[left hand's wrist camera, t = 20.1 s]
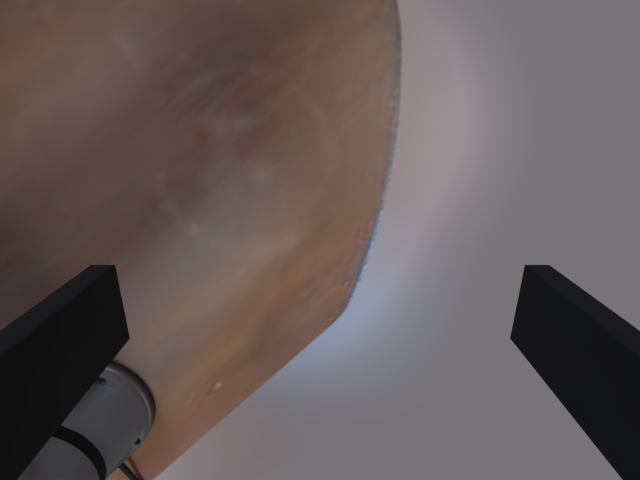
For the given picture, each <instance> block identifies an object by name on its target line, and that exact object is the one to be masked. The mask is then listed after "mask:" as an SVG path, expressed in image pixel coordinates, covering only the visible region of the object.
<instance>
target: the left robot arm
mask: <svg viewBox="0 0 640 480" xmlns="http://www.w3.org/2000/svg"><path fill="white" fill-rule="evenodd" d="M510 338H511V340H512V341H513V342H514V344H515V345H516V346H517V347H518V349H519V350H520V351H521V352H522V354H523V355H524V356H525V357H526V359H527V360H528V361H529V362H530V364H531V365H532V366H533V367H534V369H535V370H536V371H537V372H538V374H539V375H540V376H541V377H542V379H543V380H544V381H545V383H546V384H547V385H548V386H549V388H550V389H551V390H552V391H553V393H554V394H555V395H556V396H557V398H558V399H559V400H560V401H561V403H562V404H563V405H564V406H565V408H566V409H567V410H568V412H569V413H570V414H571V415H572V417H573V418H574V419H575V420H576V422H577V423H578V424H579V425H580V427H581V428H582V429H583V430H584V432H585V433H586V434H587V435H588V437H589V438H590V439H591V440H592V442H593V443H594V444H595V445H596V447H597V448H598V449H599V451H600V452H601V453H602V454H603V456H604V457H605V458H606V459H607V461H608V462H609V463H610V464H611V466H612V467H613V468H614V469H615V471H616V472H617V473H618V474H619V476H620V477H621V478H622V479H623V480H640V331H639V330H638V329H636V328H635V327H634V326H632V325H631V324H629V323H628V322H627V321H625V320H624V319H623V318H621V317H620V316H618V315H617V314H616V313H614V312H613V311H612V310H610V309H609V308H607V307H606V306H605V305H603V304H602V303H601V302H599V301H598V300H596V299H595V298H594V297H592V296H591V295H589V294H588V293H587V292H585V291H584V290H583V289H581V288H580V287H578V286H577V285H576V284H574V283H573V282H572V281H570V280H569V279H567V278H566V277H565V276H563V275H562V274H561V273H559V272H558V271H556V270H555V269H554V268H552V267H551V266H550V265H525V268H524V273H523V278H522V283H521V288H520V293H519V298H518V303H517V308H516V313H515V318H514V323H513V327H512V332H511V337H510ZM129 339H130V337H129V332H128V327H127V322H126V317H125V313H124V308H123V303H122V298H121V293H120V288H119V283H118V278H117V273H116V268H115V265H90V266H89V267H88V268H86V269H85V270H84V271H82V272H81V273H79V274H78V275H77V276H75V277H74V278H73V279H71V280H70V281H68V282H67V283H66V284H64V285H63V286H62V287H60V288H59V289H57V290H56V291H55V292H53V293H52V294H50V295H49V296H48V297H46V298H45V299H44V300H42V301H41V302H39V303H38V304H37V305H35V306H34V307H33V308H31V309H30V310H28V311H27V312H26V313H24V314H23V315H22V316H20V317H19V318H17V319H16V320H15V321H13V322H12V323H11V324H9V325H8V326H6V327H5V328H4V329H2V330H1V331H0V480H106V479H107V478H108V477H109V476H110V475H111V474H112V473H113V472H114V471H115V470H116V469H117V468H118V467H119V468H120V469H121V470H122V471H123V473H124V474H125V475H126V476H127V477H128V478H129V479H130V480H139V479H138V478H137V477H136V476H135V475H134V474H133V472H132V471H131V470H130V469H129V468H128V467H127V466H126V465H125V464H124V463H123V462H124V461H125V460H126V459H127V458H128V457H129V456H130V455H131V454H132V453H133V452H134V451H135V450H136V449H137V448H138V447H139V446H140V445H141V443H142V442H143V441H144V440H145V438H146V436H147V434H148V432H149V430H150V428H151V426H152V424H153V421H154V416H155V408H154V402H153V399H152V396H151V394H150V392H149V390H148V389H147V387H146V386H145V385H144V383H143V382H142V381H141V380H140V379H139V378H138V377H137V376H136V375H135V374H134V373H132V372H131V371H130V370H128V369H127V368H125V367H123V366H122V365H120V364H118V363H115V362H113V361H112V360H113V359H114V357H115V356H116V355H117V354H118V352H119V351H120V350H121V349H122V347H123V346H124V345H125V344H126V342H127V341H128V340H129Z"/></svg>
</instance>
